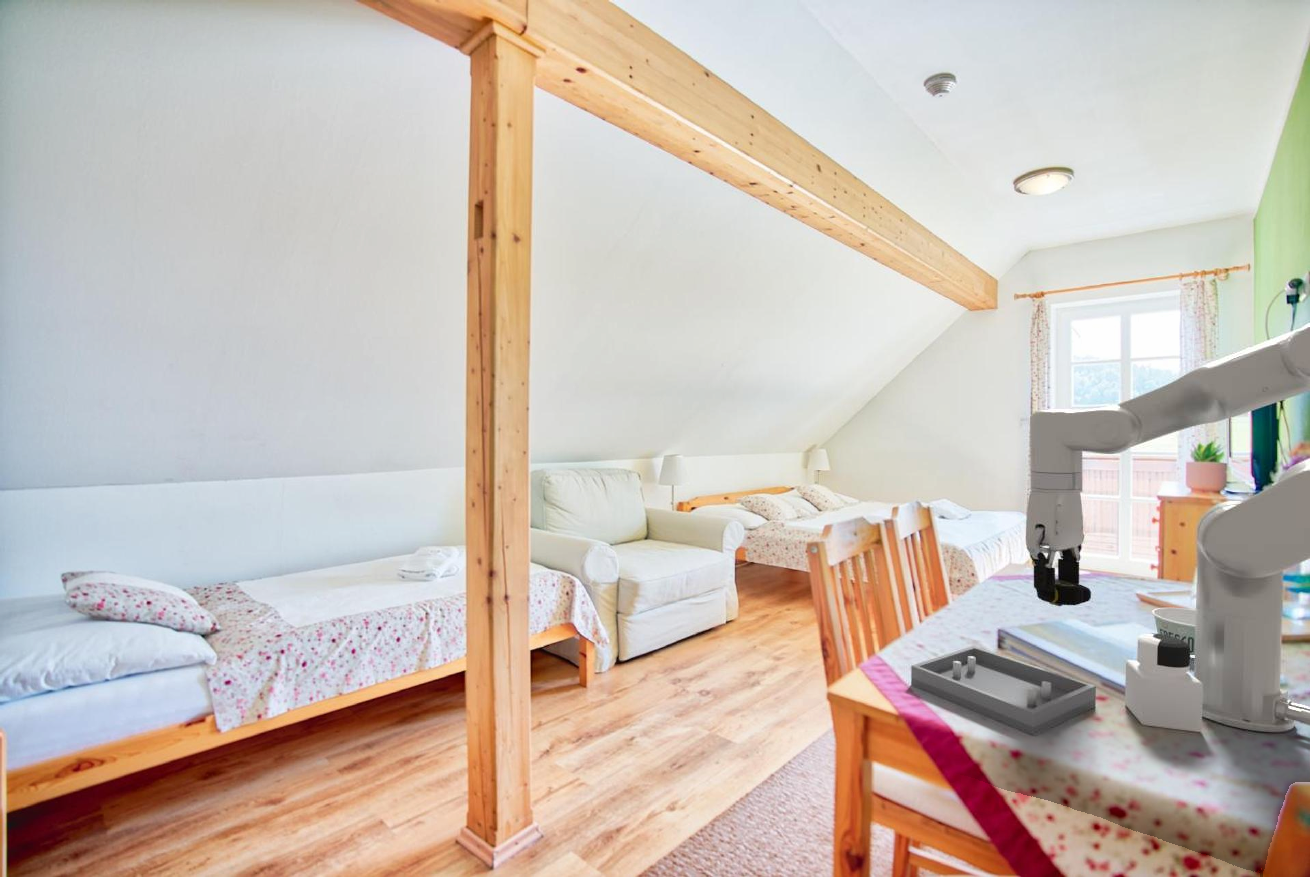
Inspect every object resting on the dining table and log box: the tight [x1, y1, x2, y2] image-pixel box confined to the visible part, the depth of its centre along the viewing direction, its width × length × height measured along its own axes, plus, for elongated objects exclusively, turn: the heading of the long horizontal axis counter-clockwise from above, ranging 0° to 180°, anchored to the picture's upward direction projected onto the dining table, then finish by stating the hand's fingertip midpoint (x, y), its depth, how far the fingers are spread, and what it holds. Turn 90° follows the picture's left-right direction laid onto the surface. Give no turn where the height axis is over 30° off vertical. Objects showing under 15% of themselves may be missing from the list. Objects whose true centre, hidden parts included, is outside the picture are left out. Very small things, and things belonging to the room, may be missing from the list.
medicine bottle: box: [1124, 633, 1203, 733], centre depth 95 cm, size 7×7×12 cm
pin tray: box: [910, 645, 1097, 737], centre depth 103 cm, size 20×17×4 cm
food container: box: [1151, 607, 1196, 655], centre depth 121 cm, size 12×12×6 cm
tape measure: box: [1035, 578, 1092, 607], centre depth 110 cm, size 7×7×4 cm
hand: (1056, 585), depth 110 cm, fingers closed on tape measure, 7 cm apart
